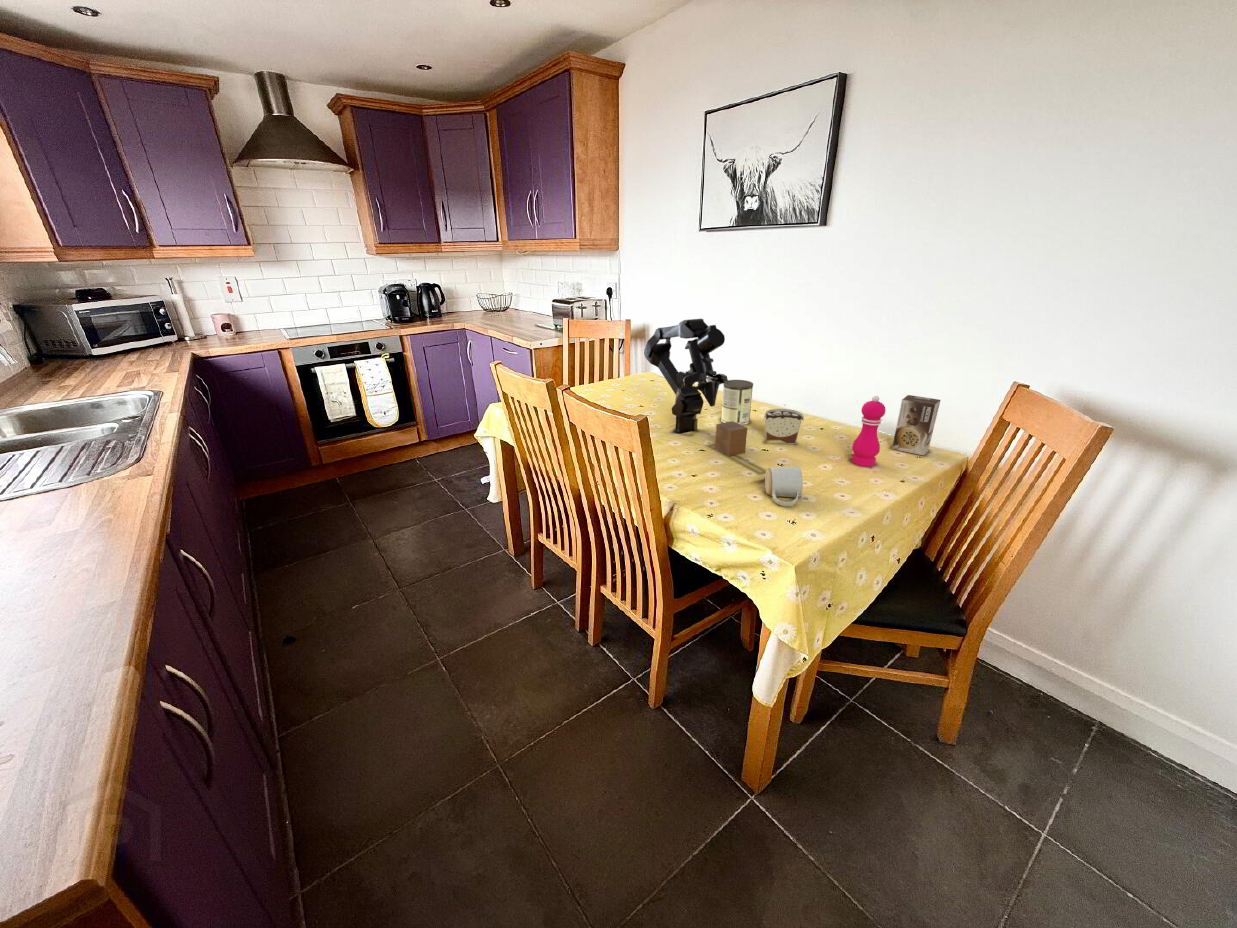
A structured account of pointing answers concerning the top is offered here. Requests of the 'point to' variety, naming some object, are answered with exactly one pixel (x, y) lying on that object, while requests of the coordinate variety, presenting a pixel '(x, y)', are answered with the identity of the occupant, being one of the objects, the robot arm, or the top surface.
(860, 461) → the pepper mill
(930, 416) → the coffee box
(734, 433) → the walnut slider
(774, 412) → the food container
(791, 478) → the ceramic mug
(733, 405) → the coffee can
